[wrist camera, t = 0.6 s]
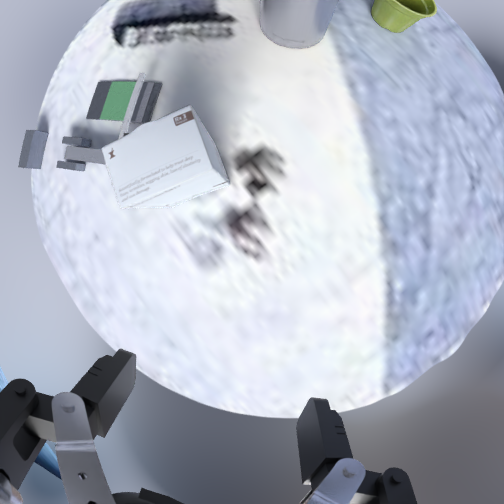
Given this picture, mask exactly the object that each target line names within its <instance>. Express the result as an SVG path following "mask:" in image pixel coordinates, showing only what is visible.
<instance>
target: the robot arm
mask: <svg viewBox="0 0 504 504" xmlns="http://www.w3.org/2000/svg"><path fill="white" fill-rule="evenodd" d="M338 1H339V0H260V26H261V29H262V31H263V33H264V34H265V35H266V37H267V38H268V39H270V40H271V41H273V42H274V43H276V44H279V45H281V46H284V47H288V48H308V47H311V46H314V45H315V44H317V43H319V42H320V41H321V40H322V39H323V37H324V35H325V33H326V30H327V28H328V25H329V23H330V21H331V18H332V16H333V13H334V11H335V9H336V6H337V4H338ZM135 379H136V355H135V354H134V353H131V352H128V351H126V350H123V349H119V350H118V351H117V352H116V354H115V355H114V356H113V357H112V356H109V355H106V356H104V357H102V358H99V359H98V360H97V361H96V362H95V363H94V365H93V366H92V367H91V368H90V369H89V370H88V372H87V373H86V374H85V375H84V376H83V377H82V378H81V380H80V381H79V382H78V383H77V384H76V386H75V387H74V388H73V389H72V390H71V391H70V392H62V393H59V394H57V395H56V396H55V397H54V396H49V395H46V394H42V393H39V392H36V390H35V387H34V385H33V384H32V383H31V382H29V381H28V380H25V379H15V380H13V381H11V382H10V383H9V384H8V385H7V386H6V387H5V388H4V389H3V390H2V391H1V392H0V504H23V500H22V496H21V495H20V493H19V491H18V489H19V487H20V485H21V484H22V482H23V480H24V478H25V476H26V474H27V472H28V471H29V469H30V467H31V466H32V464H33V462H34V461H35V459H36V457H37V456H38V454H39V452H40V451H41V449H42V447H43V446H44V444H45V442H46V441H47V440H49V441H53V442H56V443H57V445H55V449H56V455H57V460H58V465H59V469H60V473H61V477H62V481H63V485H64V489H65V492H66V496H67V499H68V502H69V504H183V503H181V502H179V501H177V500H175V499H173V498H170V497H168V496H165V495H162V494H159V493H155V492H152V491H149V490H146V489H144V488H142V489H141V491H140V493H133V492H121V493H115V494H111V491H110V489H109V486H108V483H107V481H106V478H105V475H104V473H103V470H102V467H101V464H100V461H99V458H98V455H97V452H96V448H95V445H94V442H93V440H94V438H95V437H96V435H99V436H101V437H104V438H105V436H106V434H107V432H108V431H109V429H110V427H111V425H112V424H113V422H114V420H115V418H116V417H117V415H118V413H119V412H120V410H121V408H122V407H123V405H124V403H125V402H126V400H127V398H128V397H129V395H130V393H131V392H132V389H133V387H134V384H135ZM296 429H297V438H298V448H299V457H300V466H301V475H302V484H306V485H311V487H312V490H311V491H310V492H309V493H308V494H307V495H306V496H305V498H304V499H303V500H302V501H301V502H300V503H299V504H417V501H416V498H415V495H414V492H413V489H412V485H411V482H410V479H409V477H408V475H407V473H406V472H404V471H403V470H402V469H399V468H389V469H387V470H386V471H385V472H384V473H383V474H382V473H377V472H372V471H367V470H365V468H364V466H363V465H362V464H361V463H360V462H359V461H357V460H355V459H353V456H352V453H351V449H350V445H349V442H348V438H347V435H346V432H345V428H344V425H343V421H342V418H341V417H340V416H339V414H338V413H337V412H336V411H335V410H330V406H329V402H328V400H327V399H321V398H310V399H309V401H308V402H307V404H306V406H305V408H304V410H303V412H302V414H301V415H300V417H299V419H298V422H297V428H296Z"/></svg>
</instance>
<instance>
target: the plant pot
mask: <svg viewBox="0 0 504 504" xmlns="http://www.w3.org/2000/svg"><path fill="white" fill-rule="evenodd" d="M436 12H437V7H436V4H435V2H434V0H375V1H374V4H373V7H372V10H371V14H372V17H373V19H374V20H375V21H376V22H377V23H378V24H379V25H380V26H381V27H383V28H386V29H388V30H390V31H391V32H395V33H400V32H402V31H404V30H405V29H407V28H408V27H410V26H411V25H413V24H414V23H416V22H417V21H419V20H420V19H422V18H425V17H431V16H433V15H435V14H436Z"/></svg>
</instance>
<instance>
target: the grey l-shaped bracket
mask: <svg viewBox="0 0 504 504" xmlns="http://www.w3.org/2000/svg"><path fill="white" fill-rule="evenodd" d="M145 77H146V74H145V73H140V74H139V76H138V79H137V82H136V84H135V87H134V90H133V93H132V96H131V99H130V102H129V105H128V108H127V111H126V114H125V117H124V121H123V124H122V127H121V131H120V134H119V138H118V139H120V138H122V137H124V136H126V135H127V134H129V133H127V131H128V128H129V125H130V121H131V118H132V115H133V111H134V108H135V105H136V102H137V99H138V96H139V93H140V90H141V88H142V85H143V82H144V79H145ZM64 159H70V160H78V161H85V162H92V163H98V164H105V165H106V163H105V159H104V155H103V152H102V150H99V149H91V148H82V147H72V146H67V148H66V153H65V157H64Z"/></svg>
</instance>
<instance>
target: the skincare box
mask: <svg viewBox="0 0 504 504" xmlns="http://www.w3.org/2000/svg"><path fill="white" fill-rule="evenodd" d="M102 152H103V155H104V159H105V163H106V166H107V169H108V173H109V176H110V179H111V182H112V185H113V188H114V191H115V195H116V198H117V201H118V205H119V208H120V209H126V208H172V207H176V206H178V205H180V204H181V203H184V202H186V201H188V200H191V199H193V198H195V197H198V196H200V195H203V194H206V193H208V192H211V191H214V190H217V189H220V188H224V187H227V186H230V182H229V179H228V177H227V174H226V171H225V168H224V166H223V163H222V160H221V157H220V155H219V152H218V149H217V147H216V144H215V143H214V141H213V139H212V138H211V136H210V135H209V133H208V131H207V130H206V128H205V126H204V125H203V123H202V122H201V120H200V118H199V117H198V115H197V114H196V112H195V110H194V109H193V107H192V106H191V105H188V106H186V107H184V108H181V109H179V110H177V111H175V112H173V113H170V114H168V115H166V116H164V117H162V118H159V119H157V120H155V121H151V122H147V123H144V124H142V125H140V126H139V127H137V128H136V129H135V130H134V131H133V132H131V133H129V134H127V135H126V136H124V137H122V138H120V139H118V140H116V141H114V142H111V143H109V144H107V145H105V146H104V147H102Z"/></svg>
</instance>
